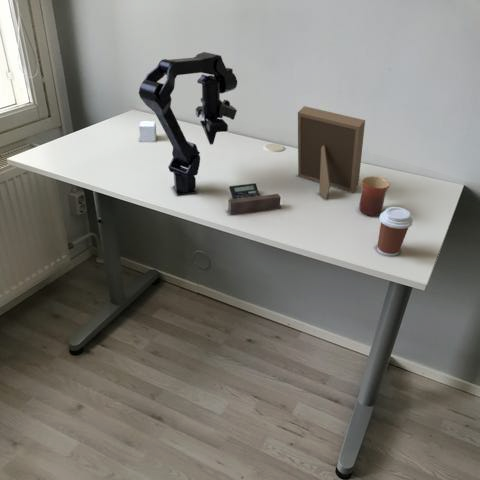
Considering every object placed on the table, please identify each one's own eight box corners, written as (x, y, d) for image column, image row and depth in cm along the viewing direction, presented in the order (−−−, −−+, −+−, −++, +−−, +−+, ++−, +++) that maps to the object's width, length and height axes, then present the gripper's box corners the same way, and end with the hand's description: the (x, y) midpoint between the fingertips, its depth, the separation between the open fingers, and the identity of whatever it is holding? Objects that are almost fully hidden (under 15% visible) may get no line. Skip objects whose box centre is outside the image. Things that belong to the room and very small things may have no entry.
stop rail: (230, 214, 156) (230, 203, 153) (228, 211, 157) (228, 199, 155) (279, 208, 160) (280, 196, 157) (277, 204, 162) (278, 193, 159)
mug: (375, 221, 155) (382, 190, 149) (351, 212, 159) (356, 182, 153) (392, 208, 163) (399, 178, 156) (368, 199, 167) (374, 170, 160)
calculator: (240, 209, 159) (240, 201, 157) (229, 194, 167) (229, 185, 165) (266, 206, 161) (267, 197, 159) (255, 190, 169) (255, 182, 167)
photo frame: (303, 172, 182) (312, 102, 166) (357, 188, 173) (372, 115, 157) (283, 186, 173) (290, 113, 157) (339, 203, 164) (353, 128, 148)
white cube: (156, 136, 206) (155, 121, 202) (155, 141, 202) (154, 126, 198) (142, 135, 206) (140, 121, 202) (140, 141, 201) (139, 126, 197)
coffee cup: (405, 260, 138) (416, 222, 131) (372, 256, 140) (381, 218, 132) (402, 243, 145) (413, 206, 138) (371, 239, 146) (380, 203, 139)
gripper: (243, 103, 154) (242, 152, 164) (226, 87, 168) (225, 132, 178) (209, 105, 151) (210, 155, 162) (194, 89, 165) (195, 135, 175)
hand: (211, 144), depth 169 cm, fingers closed
